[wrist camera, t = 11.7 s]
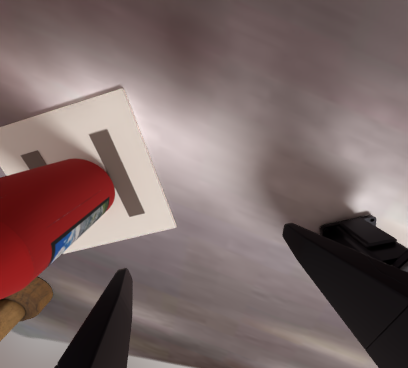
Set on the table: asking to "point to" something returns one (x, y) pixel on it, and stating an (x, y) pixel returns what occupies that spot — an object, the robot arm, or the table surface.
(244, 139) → the table surface
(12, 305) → the brown knobbed pedestal
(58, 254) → the beverage can
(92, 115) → the letter mat
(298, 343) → the table surface
